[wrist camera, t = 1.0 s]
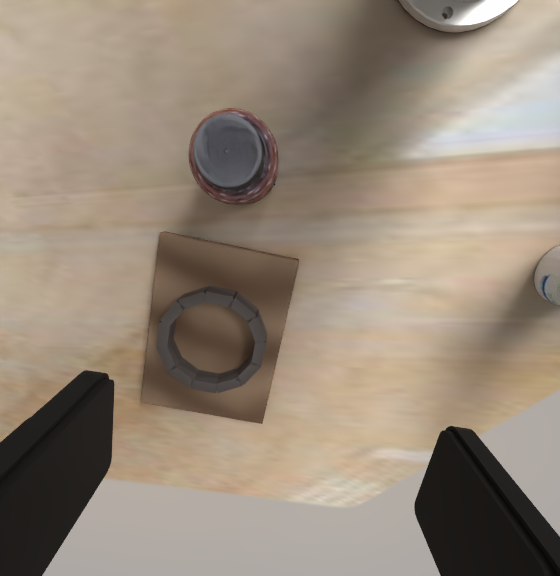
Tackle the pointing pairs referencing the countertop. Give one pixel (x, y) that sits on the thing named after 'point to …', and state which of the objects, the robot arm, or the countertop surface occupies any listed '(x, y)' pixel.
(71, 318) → the countertop surface
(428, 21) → the robot arm
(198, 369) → the bottle holder
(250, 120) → the supplement bottle
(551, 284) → the spray can
